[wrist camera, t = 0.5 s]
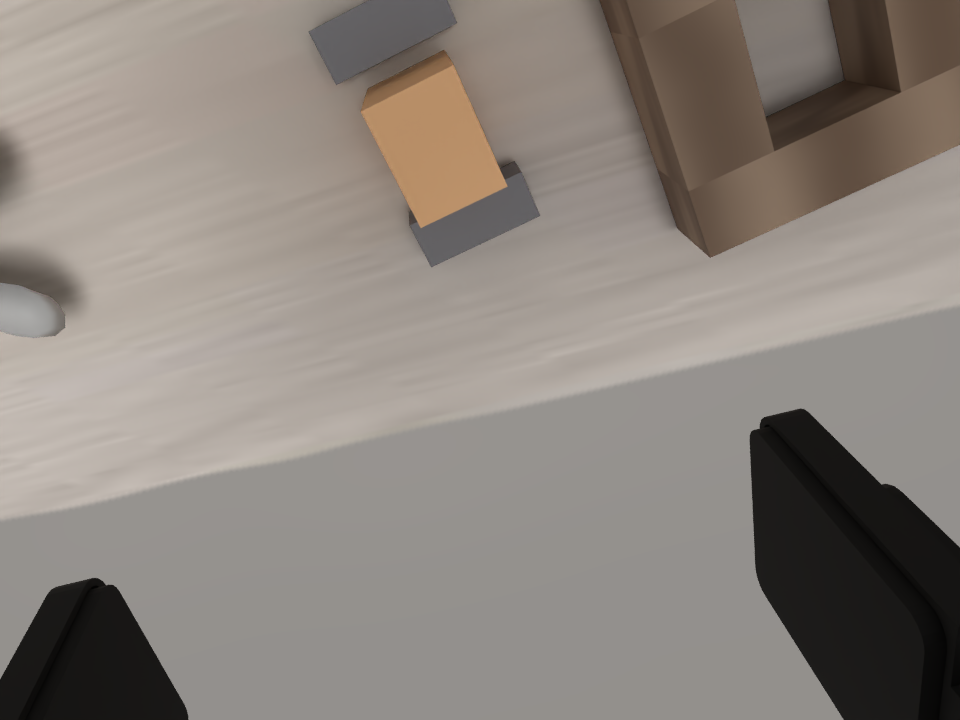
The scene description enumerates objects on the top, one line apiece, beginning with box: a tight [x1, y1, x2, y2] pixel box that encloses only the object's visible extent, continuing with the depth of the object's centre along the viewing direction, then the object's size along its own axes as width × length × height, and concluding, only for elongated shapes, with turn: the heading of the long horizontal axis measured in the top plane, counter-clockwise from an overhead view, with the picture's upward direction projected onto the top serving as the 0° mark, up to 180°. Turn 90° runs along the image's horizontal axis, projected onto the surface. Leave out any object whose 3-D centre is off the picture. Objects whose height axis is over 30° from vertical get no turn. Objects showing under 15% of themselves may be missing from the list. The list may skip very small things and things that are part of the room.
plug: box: [361, 50, 508, 228], centre depth 28 cm, size 3×4×6 cm
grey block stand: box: [309, 0, 540, 267], centre depth 30 cm, size 5×10×2 cm, turn 25°
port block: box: [600, 0, 960, 258], centre depth 29 cm, size 12×12×4 cm
